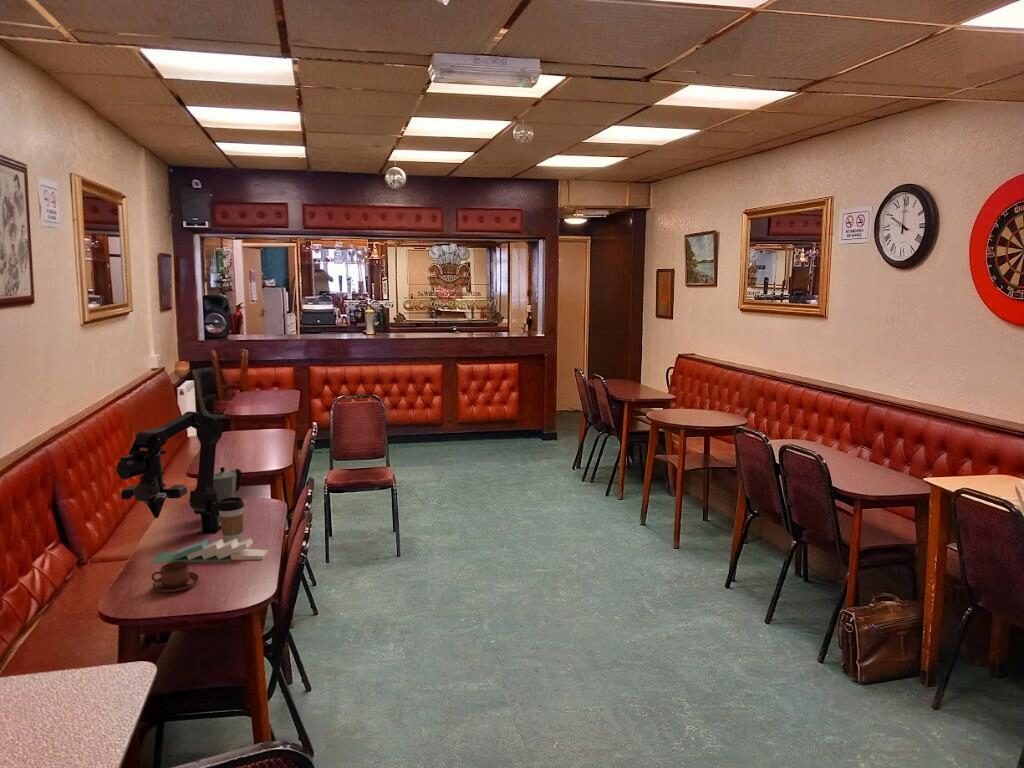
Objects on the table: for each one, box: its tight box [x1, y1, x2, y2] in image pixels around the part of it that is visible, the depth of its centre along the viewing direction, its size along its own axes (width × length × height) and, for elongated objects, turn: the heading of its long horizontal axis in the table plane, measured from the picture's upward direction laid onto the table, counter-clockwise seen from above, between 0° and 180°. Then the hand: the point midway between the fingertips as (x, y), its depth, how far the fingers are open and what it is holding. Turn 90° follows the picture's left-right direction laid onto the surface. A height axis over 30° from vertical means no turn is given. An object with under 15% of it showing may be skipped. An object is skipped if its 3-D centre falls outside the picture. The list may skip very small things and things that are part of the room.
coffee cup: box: [217, 496, 245, 543], centre depth 242 cm, size 8×8×15 cm
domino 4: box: [216, 537, 254, 560], centre depth 230 cm, size 5×2×10 cm
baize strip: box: [148, 551, 232, 564], centre depth 231 cm, size 8×26×1 cm, turn 89°
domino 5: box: [231, 548, 269, 561], centre depth 230 cm, size 5×2×10 cm
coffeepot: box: [213, 467, 243, 517], centre depth 272 cm, size 15×9×18 cm, turn 154°
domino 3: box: [202, 538, 239, 560], centre depth 230 cm, size 5×2×10 cm
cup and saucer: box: [151, 562, 199, 593], centre depth 210 cm, size 12×12×6 cm
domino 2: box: [187, 538, 224, 560], centre depth 230 cm, size 5×2×10 cm
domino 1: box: [172, 538, 211, 560], centre depth 230 cm, size 5×2×10 cm
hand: (156, 517), depth 234 cm, fingers closed
